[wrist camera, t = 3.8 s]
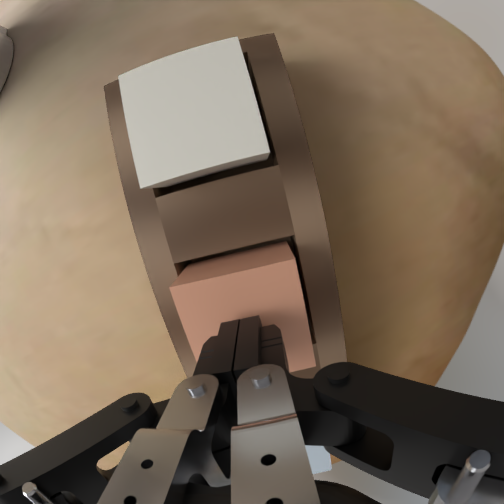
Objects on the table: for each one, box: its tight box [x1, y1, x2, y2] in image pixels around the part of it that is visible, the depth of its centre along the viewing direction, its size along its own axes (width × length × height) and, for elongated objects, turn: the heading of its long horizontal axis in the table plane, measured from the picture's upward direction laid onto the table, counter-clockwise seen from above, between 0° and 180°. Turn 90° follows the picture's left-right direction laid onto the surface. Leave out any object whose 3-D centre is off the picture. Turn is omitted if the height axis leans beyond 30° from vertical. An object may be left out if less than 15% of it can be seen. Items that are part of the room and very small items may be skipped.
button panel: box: [104, 33, 347, 378], centre depth 16 cm, size 25×9×4 cm, turn 14°
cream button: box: [118, 36, 270, 189], centre depth 11 cm, size 5×5×4 cm
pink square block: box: [169, 241, 316, 372], centre depth 13 cm, size 5×5×4 cm
